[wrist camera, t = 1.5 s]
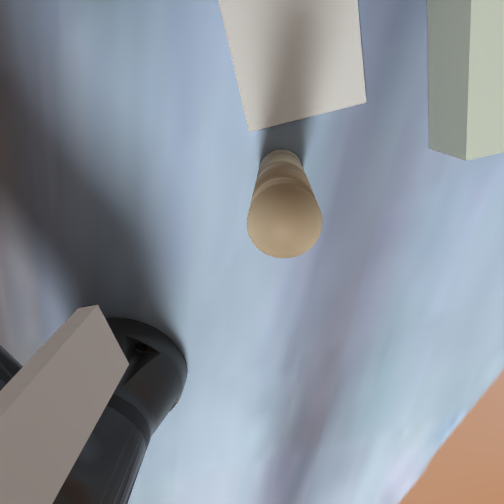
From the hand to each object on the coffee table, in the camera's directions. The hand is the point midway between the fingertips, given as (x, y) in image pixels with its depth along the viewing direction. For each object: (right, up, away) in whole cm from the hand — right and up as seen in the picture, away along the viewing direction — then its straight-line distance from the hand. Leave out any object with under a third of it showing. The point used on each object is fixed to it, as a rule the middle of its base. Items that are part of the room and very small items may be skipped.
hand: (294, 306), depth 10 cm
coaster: (+2, +18, +15) cm, 23 cm away
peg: (+1, +9, +19) cm, 22 cm away
